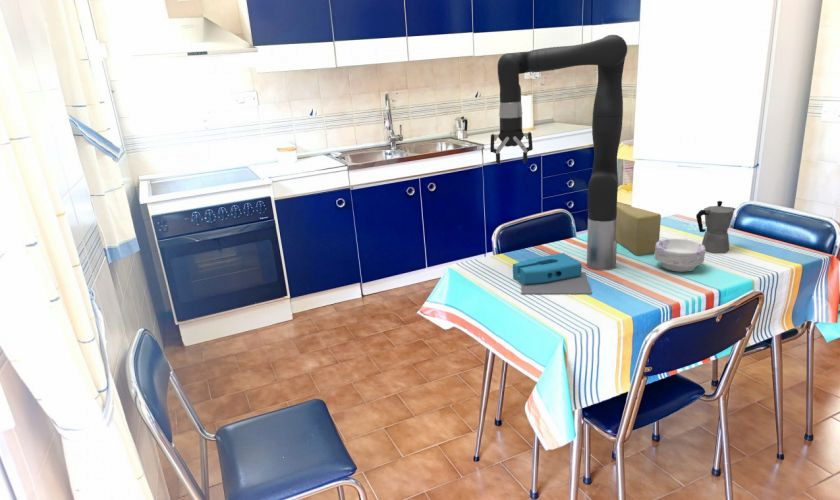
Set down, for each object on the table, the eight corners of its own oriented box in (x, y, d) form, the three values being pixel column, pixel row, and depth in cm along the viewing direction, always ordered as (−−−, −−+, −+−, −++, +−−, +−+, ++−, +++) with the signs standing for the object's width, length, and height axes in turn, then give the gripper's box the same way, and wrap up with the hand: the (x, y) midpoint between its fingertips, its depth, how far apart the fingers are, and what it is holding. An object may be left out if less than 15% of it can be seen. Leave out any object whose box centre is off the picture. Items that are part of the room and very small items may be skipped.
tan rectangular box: (601, 240, 221) (602, 203, 217) (622, 236, 224) (624, 200, 219) (636, 256, 201) (638, 216, 196) (659, 252, 203) (662, 212, 199)
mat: (585, 273, 190) (585, 272, 190) (592, 294, 173) (592, 293, 173) (520, 273, 193) (520, 272, 193) (521, 294, 176) (521, 293, 176)
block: (527, 287, 181) (581, 276, 186) (527, 273, 179) (581, 262, 184) (510, 275, 191) (562, 265, 197) (510, 261, 190) (562, 252, 195)
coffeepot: (721, 243, 208) (726, 196, 202) (740, 250, 199) (746, 201, 194) (684, 248, 205) (688, 201, 199) (702, 256, 196) (707, 207, 191)
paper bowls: (709, 275, 181) (711, 252, 178) (659, 275, 183) (661, 252, 181) (695, 259, 195) (698, 237, 192) (649, 259, 198) (651, 238, 195)
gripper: (531, 113, 191) (532, 161, 196) (489, 115, 193) (491, 162, 198) (532, 115, 184) (532, 164, 189) (489, 118, 186) (490, 166, 191)
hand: (511, 163), depth 193 cm, fingers open, 8 cm apart
